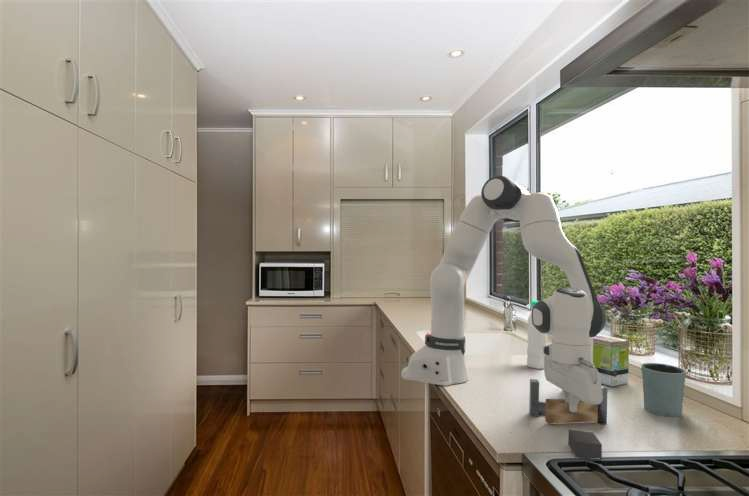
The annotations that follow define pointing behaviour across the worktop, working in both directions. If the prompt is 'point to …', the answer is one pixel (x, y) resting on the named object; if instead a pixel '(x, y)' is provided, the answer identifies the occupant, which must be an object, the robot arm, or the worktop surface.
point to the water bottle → (535, 344)
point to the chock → (584, 444)
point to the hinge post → (603, 407)
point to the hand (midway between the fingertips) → (571, 410)
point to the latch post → (535, 399)
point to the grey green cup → (663, 388)
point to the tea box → (611, 359)
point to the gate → (569, 412)
